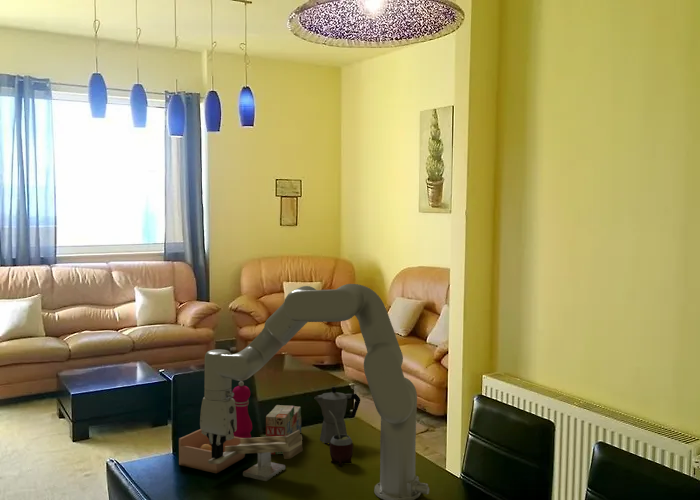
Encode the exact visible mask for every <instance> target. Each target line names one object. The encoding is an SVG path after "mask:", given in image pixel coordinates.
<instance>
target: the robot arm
mask: <svg viewBox="0 0 700 500" xmlns="http://www.w3.org/2000/svg"><path fill="white" fill-rule="evenodd" d="M353 317H355V318H356V319H357V320H358V321H357V322H358V324H359V329H360V333H361V336H362V338H363V341H364V344H365V349H366V355H365V356H364V359H363V370H364V371H363V372H364V375H365V378H366V381H367V385H368V388H369V391H370V394H371V397H372V400H373V403H374V406H375V409H376V411H377V413H378V415H379V416H380V441H379V442H380V444H379V445H380V451H379V453H380V454H379V455H380V457H379V458H380V459H379V461H380V463H379V465H380V466H379V468H380V469H379V482H377V483H376V484H375V485H374V486H373V487H374V489H373V490H374V491H373V492H374V494H375V496H376V497H378V498H380V499H381V500H416V499H418V498H419V497H420V496H421V494H423V495H429V494H430V487H429V484H428V483H425V482H421V481H419V480H420V478H419V476H418V475H416V448H417V447H416V444H417V442H416V440H417V439H416V437H417V412H418V411H417V408H418V407H417V406H418V393H417V388H416V386H415V385H414V383H413V382H412V380H411V379H408V378H407V377H405V375H404V372H403V369H402V365H403V361H404V357H403V352H402V349H401V347H400V344H399V341H398V338H397V336H396V333H395V329H394V327H393V325H392V322H391V319H390V316H389V312H388V310H387V307H386V306H385V303H384V302H383V300H382V299H381V297H380V296H379V295H378V294H377V292H376V291H374V290H372V289H371V288H369V287H368V286H366V285H362V284H356V283H346V284H344V285H340V286H338V287H337V288H334V289H317V288H314V287H312V286H309V285H302V286H299V287H297V288H296V289H294V290H291V291H290V292H289V293H288V294H287V295H286V297H285V299H284V300H283V303H282V304H281V305H280V306H279V307H277V309H276V310H275V311H274V312H273V313H272V314H271V315H270V316H269V317H268V318H267V319H266V321H265V322H264V327H263V329H262V330H261V331H260V333H259V334H257V335H256V337H254V339H253V340H252V341H251V342H250V343H249V344H248V345H247V346H245V347H244V349H242V350H240V351H239V352H236V353H231V351H229V350H228V349H220V348H219V349H211V350H208V351H207V352H206V353H205V355H204V392H203V393H204V394H203V395H204V396H203V398H202V400H201V407H200V415H199V417H200V418H199V427H200V429H201V430H202V431H201V433H202V434H204V435H206V436H207V437H208V439H209V441H210V444H212V458H215V459H217V458H219V457H221V456H223V443H225V441H226V440H232V439H234V434H233V432H235V431H236V430H237V417H236V407H235V402H234V400H235V399H234V398H233V396H234V393H233V392H232V381H233V380H234V381H237V382H240V381H243V382H244V381H246V380H248V379H250V378H251V377H252V376H254V374H256V373H257V372H259V371H260V370H261V369H262V368H263V367H264V366H265V365H266V364H268V363H269V361H270V360H271V359H272V358H274V356H275V355H276V354H277V353H278V352H279V351H280V350H281V349H282V348H283V347H284V346H286V344H288V343H289V342H290V341H291V339H293V338H294V337H295V335H297V334H298V332H300V330H302V328H303V327H304V326H306V325H307V323H325V322H326V323H330V322H331V323H332V322H333V323H337V322H345V321H348V320H350V319H352V318H353Z"/></svg>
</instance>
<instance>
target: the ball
mask: <svg viewBox="0 0 700 500" xmlns="http://www.w3.org/2000/svg"><path fill="white" fill-rule="evenodd" d="M200 449H205V450H210V451H212V447H211V446H210V445H209V444H204V445H202V446H201V447H200Z"/></svg>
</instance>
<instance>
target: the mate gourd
mask: <svg viewBox="0 0 700 500" xmlns="http://www.w3.org/2000/svg"><path fill="white" fill-rule="evenodd" d="M329 412H330V414H331V415H332V417H333V418H334V422H335V425H336V429H337V433H338V435H335V436H333V437H332V439H331V441H330V445H329V454H330V459H331V460H330V463H331V464H338V467H339V468H342V467H341V466H343V464H342V463H351V464H352V457H353V452H354V444H353V443H354V442H353V440H352V438H351V437H350V436H349V435H348V434H347V435H343V434H339V430H338V426H337V420H336V418H335V416H334V415H333V414H332V412H331V411H330V410H329Z"/></svg>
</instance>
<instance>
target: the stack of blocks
mask: <svg viewBox="0 0 700 500" xmlns="http://www.w3.org/2000/svg"><path fill="white" fill-rule="evenodd" d="M301 408H302V407H301V406H295V405H282V404H281V405H280V404H276V405H275V406H274V407H273V408H272V409H271V411H269V413H268V414H266V416H265V437H274V436H288V435H290V434H291V433H293V432H295V431H297V430H300V433H302V414H301V413H302V412H301V411H302V409H301ZM278 454H283V452H271V455H278Z"/></svg>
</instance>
